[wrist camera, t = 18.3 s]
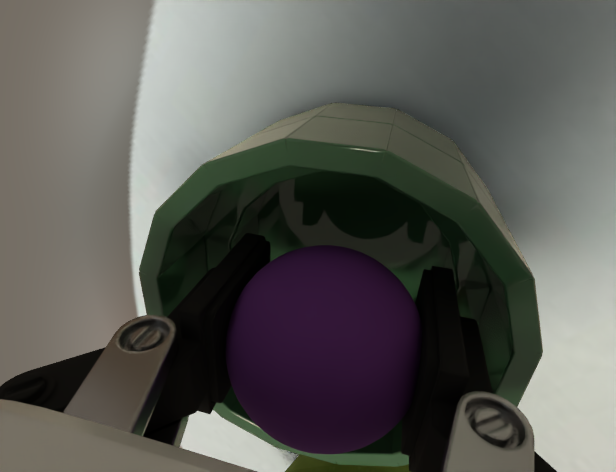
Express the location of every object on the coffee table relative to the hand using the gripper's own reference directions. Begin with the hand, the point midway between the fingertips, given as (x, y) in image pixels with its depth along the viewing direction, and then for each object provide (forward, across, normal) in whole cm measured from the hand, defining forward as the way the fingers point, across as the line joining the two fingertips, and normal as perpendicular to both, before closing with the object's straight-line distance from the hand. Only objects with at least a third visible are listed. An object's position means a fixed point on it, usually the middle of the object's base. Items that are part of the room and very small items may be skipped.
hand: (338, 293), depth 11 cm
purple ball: (-2, 0, 0) cm, 2 cm away
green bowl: (+4, 0, 0) cm, 4 cm away
